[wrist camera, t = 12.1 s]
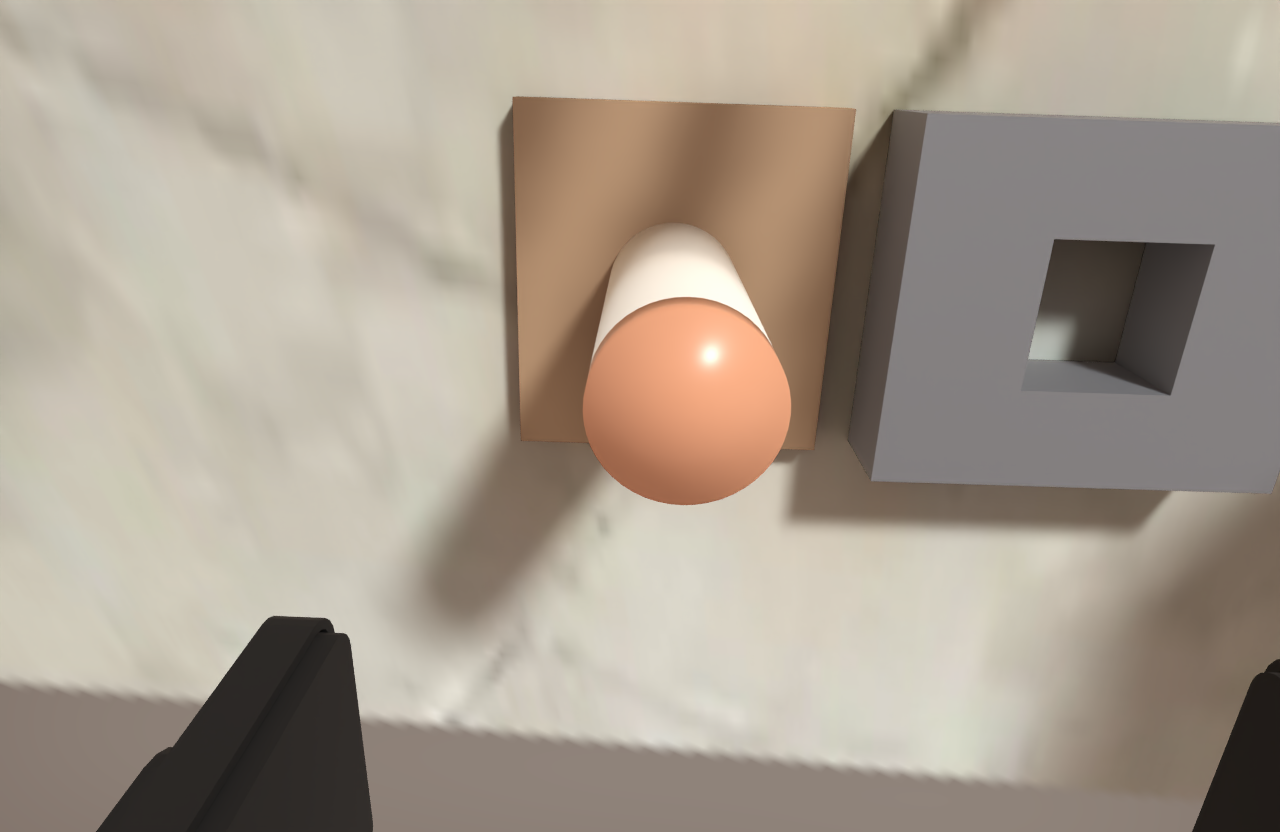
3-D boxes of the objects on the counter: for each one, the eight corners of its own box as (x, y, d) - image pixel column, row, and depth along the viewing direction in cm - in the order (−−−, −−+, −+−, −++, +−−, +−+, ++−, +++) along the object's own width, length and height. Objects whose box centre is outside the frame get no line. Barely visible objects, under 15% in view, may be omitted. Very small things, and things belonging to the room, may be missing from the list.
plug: (740, 224, 28) (800, 313, 17) (731, 349, 29) (782, 507, 18) (609, 221, 28) (582, 307, 17) (608, 346, 29) (583, 502, 18)
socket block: (1312, 124, 27) (1402, 130, 24) (1207, 451, 32) (1271, 493, 29) (894, 109, 27) (927, 113, 24) (847, 440, 32) (870, 481, 29)
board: (848, 108, 27) (856, 108, 26) (809, 439, 32) (813, 450, 31) (516, 96, 27) (512, 96, 26) (524, 430, 32) (520, 440, 31)
